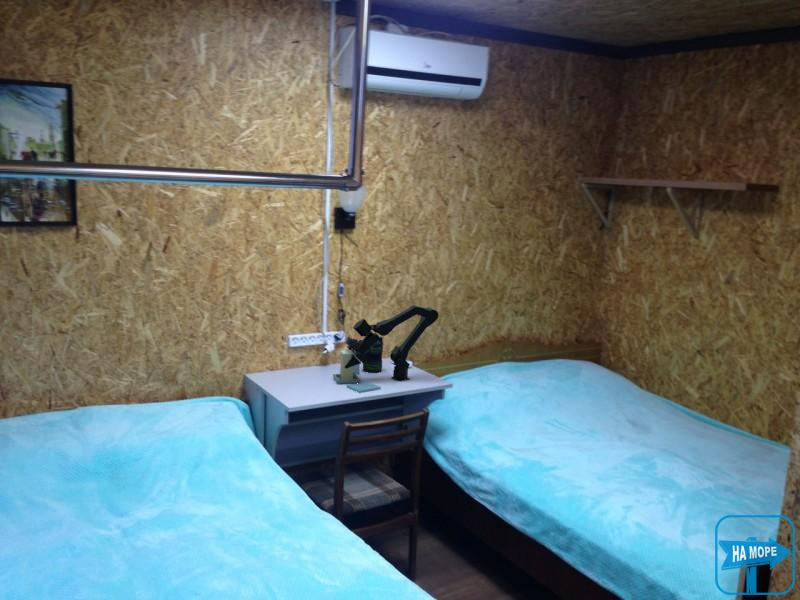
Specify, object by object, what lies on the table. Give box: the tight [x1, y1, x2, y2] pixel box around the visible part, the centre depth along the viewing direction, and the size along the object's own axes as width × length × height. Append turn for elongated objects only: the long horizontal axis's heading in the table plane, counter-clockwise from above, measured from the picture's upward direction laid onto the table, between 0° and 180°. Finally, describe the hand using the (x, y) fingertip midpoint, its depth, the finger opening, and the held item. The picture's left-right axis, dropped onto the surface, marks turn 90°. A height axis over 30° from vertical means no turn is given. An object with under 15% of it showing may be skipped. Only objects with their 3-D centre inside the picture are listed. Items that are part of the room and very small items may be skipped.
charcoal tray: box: [332, 373, 361, 385], centre depth 323 cm, size 11×11×2 cm
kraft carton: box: [339, 349, 354, 380], centre depth 322 cm, size 5×5×14 cm
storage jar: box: [362, 341, 384, 374], centre depth 343 cm, size 10×10×15 cm
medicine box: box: [353, 364, 361, 375], centre depth 337 cm, size 8×4×9 cm, turn 62°
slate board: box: [346, 381, 382, 394], centre depth 313 cm, size 12×10×1 cm
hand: (343, 366), depth 322 cm, fingers closed on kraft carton, 5 cm apart
